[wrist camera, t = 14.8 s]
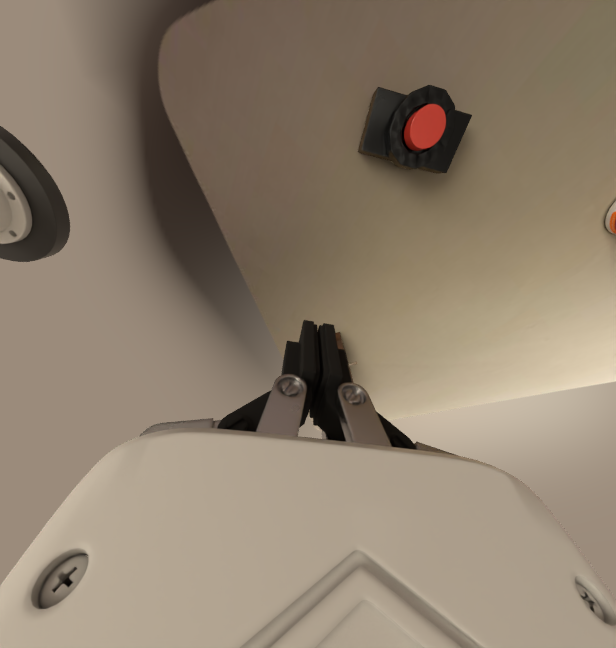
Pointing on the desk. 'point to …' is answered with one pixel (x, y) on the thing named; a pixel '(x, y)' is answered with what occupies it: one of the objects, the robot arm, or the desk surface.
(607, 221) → the pill bottle
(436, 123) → the button
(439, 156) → the button housing
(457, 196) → the desk surface
